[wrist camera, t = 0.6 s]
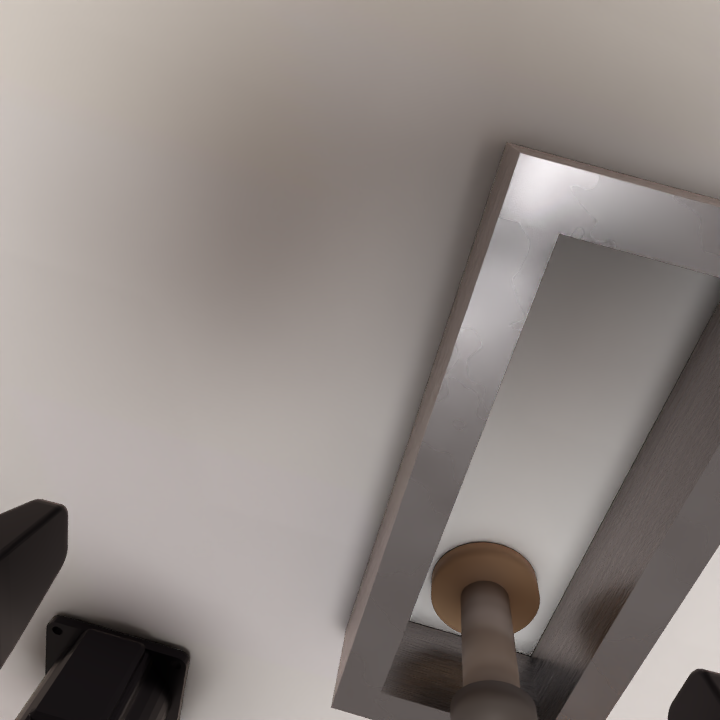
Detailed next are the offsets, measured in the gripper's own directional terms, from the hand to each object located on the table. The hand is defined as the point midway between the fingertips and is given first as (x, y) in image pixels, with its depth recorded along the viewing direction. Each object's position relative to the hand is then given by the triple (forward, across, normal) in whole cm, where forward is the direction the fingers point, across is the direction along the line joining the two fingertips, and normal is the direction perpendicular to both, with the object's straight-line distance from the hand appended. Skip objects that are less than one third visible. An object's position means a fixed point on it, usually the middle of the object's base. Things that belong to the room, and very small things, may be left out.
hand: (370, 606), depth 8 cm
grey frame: (+12, -6, +4) cm, 14 cm away
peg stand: (+12, -5, +10) cm, 16 cm away
